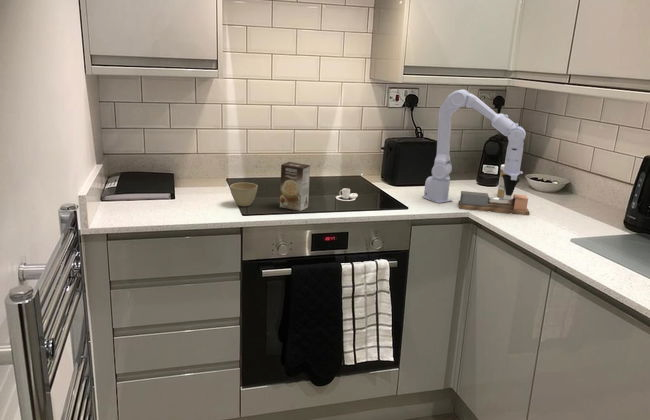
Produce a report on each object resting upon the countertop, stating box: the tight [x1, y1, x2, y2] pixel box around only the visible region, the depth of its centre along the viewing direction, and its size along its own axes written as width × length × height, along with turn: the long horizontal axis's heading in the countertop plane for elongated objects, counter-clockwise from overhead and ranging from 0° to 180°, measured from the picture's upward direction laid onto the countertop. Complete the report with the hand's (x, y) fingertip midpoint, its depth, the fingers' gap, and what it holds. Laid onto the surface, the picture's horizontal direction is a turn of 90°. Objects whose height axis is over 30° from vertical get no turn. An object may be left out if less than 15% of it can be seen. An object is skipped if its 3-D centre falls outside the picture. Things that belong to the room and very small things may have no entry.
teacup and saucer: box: [335, 187, 359, 202], centre depth 211 cm, size 9×8×4 cm
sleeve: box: [459, 190, 490, 207], centre depth 207 cm, size 10×4×4 cm, turn 80°
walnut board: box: [457, 200, 530, 216], centre depth 206 cm, size 26×8×1 cm, turn 80°
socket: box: [512, 193, 529, 211], centre depth 204 cm, size 4×5×5 cm
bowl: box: [229, 182, 258, 207], centre depth 196 cm, size 10×10×7 cm
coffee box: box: [279, 161, 311, 212], centre depth 194 cm, size 9×6×16 cm
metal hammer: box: [488, 192, 515, 206], centre depth 204 cm, size 14×3×8 cm, turn 80°
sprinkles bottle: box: [496, 164, 507, 198], centre depth 224 cm, size 5×5×14 cm
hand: (508, 194), depth 204 cm, fingers closed on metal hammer, 2 cm apart
